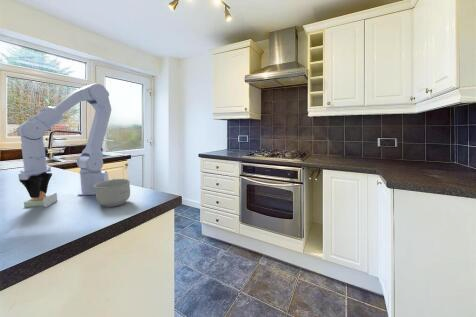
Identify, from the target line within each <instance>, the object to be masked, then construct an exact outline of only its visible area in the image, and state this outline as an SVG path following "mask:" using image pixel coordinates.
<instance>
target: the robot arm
mask: <svg viewBox="0 0 476 317" xmlns="http://www.w3.org/2000/svg"><path fill="white" fill-rule="evenodd" d="M109 96H110V92H109V91H108V89H107V88H106V87H105V86H104V85H103V84H100V83H99V82H98V83H97V82H95V83H92V84H89V85H83V86H82V87H81V88H78V89H76V90H75V91H73V92H72V93H71V94H69V95H68V96H67V97H65V98H64V99H63V100H61V101H60V102H58V104H56V105H55V106H46V107H41V108H39V112H38V113H37V114H34V115H33V116H32V117H31V116H30V117H28V118H27V120H28V121H25V122H22V123H21V124H20V125H18V127H17V130H16V133H17V135H18V136H19V137H20V141H21V144H20V146H21V153H22V161H23V169H22V170H20V171H19V172H20V173H18V180H19V182H20V183H21V184H22V185H23V187H24V188H26V191H27V193H28V195H29V197H30V199H31V198H38V197H39V196H40V191H42V192H44V193H45V194H47V192H48V188H49V187H48V186H49V183H50V180H51V177H52V176H53V173H52V169H51V168H52V167H51V166H50V165H49V166H48V165H47V158H46V152H45V151H46V149H45V148H46V147H45V143H44V137H45V135H46V133H47V131H49V130H50V129H52V128H53V127H55V126H56V125H57V124H58V123H60V122H61V121H62V120H63V118H64V116H63V115H64V114H65V113H66V112H68V111H69V110H71V109H72V108H73V107H75V106H76V105H78V104H79V103H80V102H85V101H86V102H87V103H88V104H90V105H91V106H92V107H93V109H94V110H95V112H94V116H93V120H92V124H91V127H90V131H89V135H88V138H87V143H86V145H85V148H84V149H82V151H81V154H80V155H79V156H78V157H77V159H76V164H77V167H78V168H80V170H79V175H80V176H79V177H80V178H79V179H80V187H81V188H80V189H81V191H80V192H79V193H77V196H89V195H90V196H91V195H96V193H95V188H94V185H95V184H97V183H100V182H103V181H108V180H110V179H109V173H108V171H106V170H102V168H103V166H104V160H103V157H104V153H103V151H102V147H103V144H104V140H105V137H106V132H107V129H108V126H109V121H110V117H111V114H112V106H111V101H110V97H109Z"/></svg>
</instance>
